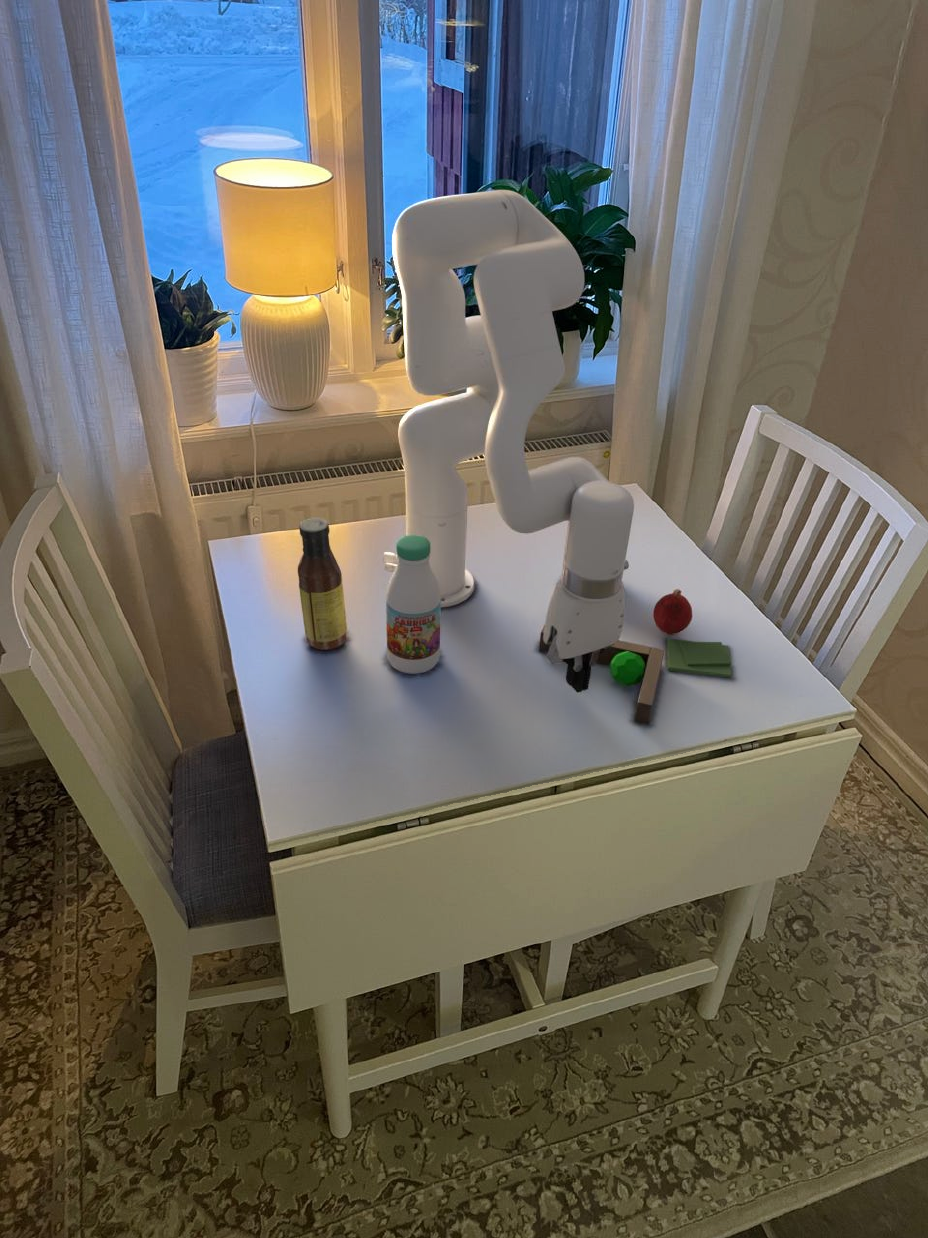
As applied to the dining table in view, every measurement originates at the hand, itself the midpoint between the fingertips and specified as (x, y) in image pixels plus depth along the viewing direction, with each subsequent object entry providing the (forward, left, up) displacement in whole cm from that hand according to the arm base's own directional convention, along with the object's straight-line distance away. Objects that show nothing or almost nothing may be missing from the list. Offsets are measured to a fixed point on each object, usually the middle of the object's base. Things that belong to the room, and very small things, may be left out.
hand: (576, 685), depth 130 cm
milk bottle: (-24, 0, -2) cm, 24 cm away
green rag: (+16, +14, -2) cm, 21 cm away
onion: (+11, +19, -2) cm, 22 cm away
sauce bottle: (-38, 0, -2) cm, 38 cm away
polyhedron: (+6, +5, -2) cm, 8 cm away
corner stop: (+2, +4, -2) cm, 5 cm away
